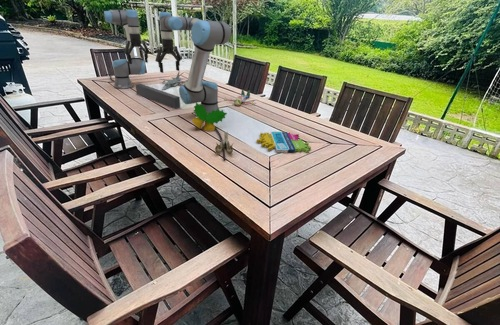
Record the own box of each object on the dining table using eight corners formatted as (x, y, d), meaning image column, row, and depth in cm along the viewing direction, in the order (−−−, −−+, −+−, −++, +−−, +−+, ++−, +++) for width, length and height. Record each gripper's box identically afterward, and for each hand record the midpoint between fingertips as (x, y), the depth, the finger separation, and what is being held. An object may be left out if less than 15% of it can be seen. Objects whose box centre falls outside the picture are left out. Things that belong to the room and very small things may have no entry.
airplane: (153, 81, 261) (151, 71, 256) (184, 80, 275) (183, 70, 270) (160, 92, 233) (159, 80, 228) (195, 89, 246) (194, 78, 241)
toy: (261, 91, 228) (254, 99, 202) (261, 99, 231) (253, 108, 205) (231, 87, 233) (220, 95, 207) (230, 95, 236) (219, 104, 210)
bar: (180, 107, 197) (179, 96, 193) (175, 108, 194) (174, 97, 190) (141, 93, 224) (140, 83, 220) (136, 94, 221) (135, 84, 216)
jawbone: (234, 135, 144) (233, 125, 135) (233, 160, 138) (232, 151, 129) (217, 135, 144) (216, 125, 135) (216, 160, 138) (214, 150, 129)
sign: (313, 150, 142) (258, 149, 139) (312, 153, 143) (258, 152, 140) (301, 132, 164) (254, 130, 161) (301, 134, 165) (254, 133, 162)
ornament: (218, 133, 171) (224, 110, 169) (221, 134, 163) (227, 111, 161) (186, 125, 162) (192, 101, 160) (189, 126, 155) (195, 101, 153)
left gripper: (146, 32, 207) (150, 61, 217) (115, 32, 189) (121, 63, 200) (152, 33, 203) (155, 62, 213) (121, 33, 185) (126, 65, 196)
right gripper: (178, 37, 186) (180, 68, 196) (147, 38, 169) (151, 72, 179) (185, 38, 182) (187, 70, 193) (154, 39, 165) (157, 74, 175)
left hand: (138, 63), depth 206 cm, fingers open, 13 cm apart
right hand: (170, 71), depth 186 cm, fingers open, 13 cm apart
